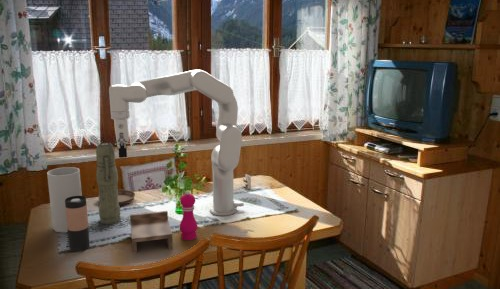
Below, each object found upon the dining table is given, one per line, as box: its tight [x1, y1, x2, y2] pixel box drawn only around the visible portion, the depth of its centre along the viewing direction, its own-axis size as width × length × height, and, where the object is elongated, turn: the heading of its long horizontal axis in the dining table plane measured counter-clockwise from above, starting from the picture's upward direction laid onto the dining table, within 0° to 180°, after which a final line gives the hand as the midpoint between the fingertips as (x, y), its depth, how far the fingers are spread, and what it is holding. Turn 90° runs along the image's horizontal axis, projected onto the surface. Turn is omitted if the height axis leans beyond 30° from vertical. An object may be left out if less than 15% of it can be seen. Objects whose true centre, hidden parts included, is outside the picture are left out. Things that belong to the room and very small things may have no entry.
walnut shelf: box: [129, 210, 174, 254], centre depth 177 cm, size 15×17×9 cm
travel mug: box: [65, 195, 91, 253], centre depth 171 cm, size 8×8×20 cm
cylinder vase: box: [46, 166, 83, 234], centre depth 189 cm, size 12×12×25 cm
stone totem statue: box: [95, 142, 121, 225], centre depth 195 cm, size 9×12×35 cm
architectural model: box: [239, 173, 252, 190], centre depth 243 cm, size 3×7×7 cm, turn 29°
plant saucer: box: [98, 189, 136, 206], centre depth 223 cm, size 18×18×3 cm
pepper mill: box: [179, 190, 199, 241], centre depth 180 cm, size 7×7×20 cm
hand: (122, 154), depth 190 cm, fingers open, 9 cm apart
